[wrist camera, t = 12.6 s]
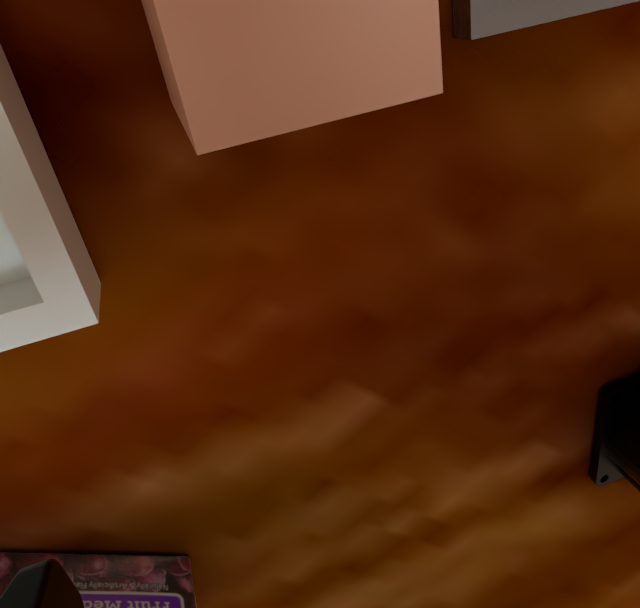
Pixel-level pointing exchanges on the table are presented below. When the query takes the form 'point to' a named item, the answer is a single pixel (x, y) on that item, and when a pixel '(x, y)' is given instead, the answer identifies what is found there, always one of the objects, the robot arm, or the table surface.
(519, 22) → the service unit
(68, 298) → the parts tray
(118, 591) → the snack box
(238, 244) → the table surface
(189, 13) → the terracotta block
